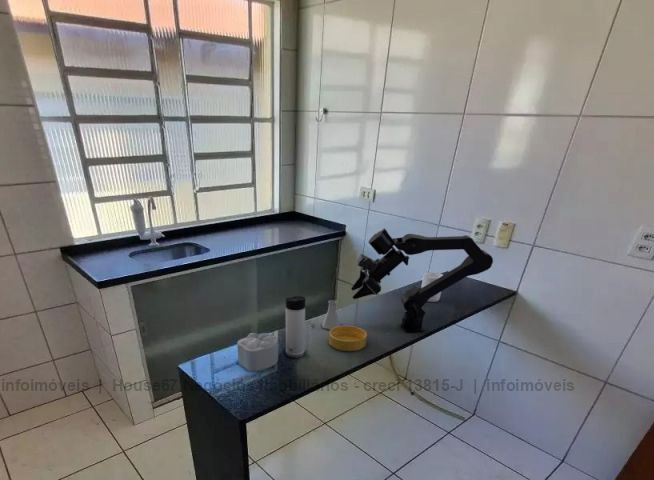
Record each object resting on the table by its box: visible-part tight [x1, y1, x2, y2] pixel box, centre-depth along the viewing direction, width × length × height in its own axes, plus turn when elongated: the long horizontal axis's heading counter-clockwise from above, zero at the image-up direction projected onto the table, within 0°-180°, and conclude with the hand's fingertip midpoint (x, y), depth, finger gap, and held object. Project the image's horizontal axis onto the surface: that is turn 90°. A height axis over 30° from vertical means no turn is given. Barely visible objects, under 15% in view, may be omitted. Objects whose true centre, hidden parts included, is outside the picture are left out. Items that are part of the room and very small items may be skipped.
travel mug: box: [285, 295, 306, 359], centre depth 132 cm, size 6×7×20 cm
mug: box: [420, 271, 444, 303], centre depth 179 cm, size 9×12×11 cm
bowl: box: [328, 325, 368, 352], centre depth 142 cm, size 13×13×4 cm
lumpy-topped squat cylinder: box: [236, 332, 279, 372], centre depth 131 cm, size 10×13×9 cm
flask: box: [321, 299, 341, 331], centre depth 153 cm, size 7×7×10 cm
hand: (352, 293), depth 148 cm, fingers open, 9 cm apart
